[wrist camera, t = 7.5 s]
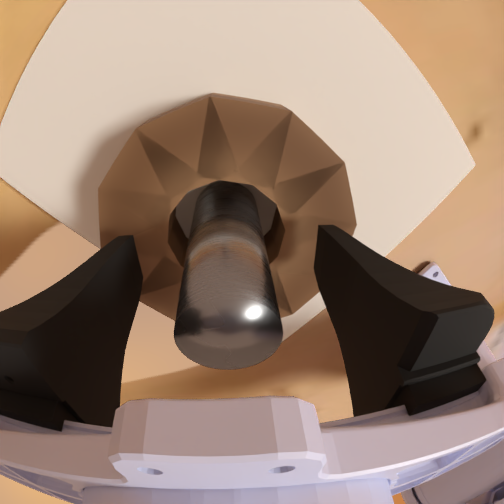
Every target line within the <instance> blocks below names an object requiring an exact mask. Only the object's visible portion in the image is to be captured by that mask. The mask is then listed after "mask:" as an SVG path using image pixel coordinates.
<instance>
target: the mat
mask: <svg viewBox="0 0 504 504" xmlns="http://www.w3.org/2000/svg"><path fill="white" fill-rule="evenodd" d="M211 93H219V94H226V95H232V96H238V97H244V98H250V99H255V100H261V101H266V102H271V103H276V104H281V105H283V106H284V107H286V108H288V109H289V110H291V111H293V113H294V114H295V115H297V116H298V117H299V118H300V119H301V120H302V121H303V122H304V123H305V124H306V125H307V126H308V127H309V128H310V129H312V130H313V131H314V132H315V133H316V134H317V135H318V136H319V137H320V138H321V139H322V140H323V141H324V142H325V143H326V144H327V145H328V146H329V147H330V148H331V149H332V150H333V151H334V152H335V153H336V154H337V155H338V156H339V157H340V158H341V159H342V160H343V161H344V162H345V165H346V170H347V175H348V179H349V184H350V189H351V195H352V200H353V205H354V211H355V216H356V222H357V226H356V228H355V231H354V234H353V236H352V237H354V238H355V239H357V240H358V241H360V242H361V243H363V244H364V245H366V246H367V247H369V248H370V249H372V250H374V251H375V252H377V253H378V254H380V255H382V256H383V257H385V256H386V255H387V254H388V253H389V252H390V251H392V250H393V249H394V248H395V247H396V246H397V245H398V244H399V243H400V242H401V241H402V240H403V239H404V238H405V237H406V236H407V235H409V234H410V233H411V232H412V231H413V230H414V229H415V228H416V227H417V226H418V225H419V224H420V223H421V222H422V221H423V220H424V219H425V218H426V217H427V216H428V215H429V214H430V213H431V212H432V211H433V210H434V209H435V208H436V207H437V206H438V205H439V204H440V203H441V202H442V201H443V200H444V199H445V198H446V197H447V196H448V195H449V193H450V192H451V191H452V190H453V189H454V188H455V187H456V186H457V185H458V184H459V183H460V182H461V181H462V180H463V178H464V177H465V176H466V175H467V174H468V173H469V172H470V171H471V170H472V169H473V167H474V166H475V165H476V164H475V162H474V160H473V158H472V156H471V154H470V152H469V150H468V148H467V146H466V144H465V142H464V141H463V139H462V137H461V135H460V133H459V131H458V130H457V128H456V126H455V124H454V123H453V121H452V119H451V118H450V116H449V114H448V113H447V111H446V109H445V108H444V106H443V105H442V103H441V101H440V100H439V98H438V97H437V95H436V94H435V92H434V91H433V89H432V88H431V86H430V85H429V83H428V82H427V81H426V79H425V78H424V76H423V75H422V74H421V72H420V71H419V69H418V68H417V67H416V65H415V64H414V63H413V61H412V60H411V59H410V58H409V56H408V55H407V54H406V52H405V51H404V50H403V49H402V47H401V46H400V45H399V44H398V43H397V41H396V40H395V39H394V38H393V37H392V35H391V34H390V33H389V32H388V31H387V30H386V29H385V27H384V26H383V25H382V24H381V23H380V22H379V21H378V20H377V19H376V18H375V17H374V15H373V14H372V13H371V12H370V11H369V10H368V9H367V8H366V7H365V6H364V5H363V4H362V3H361V2H360V1H359V0H67V1H66V3H65V4H64V6H63V7H62V8H61V10H60V11H59V13H58V14H57V16H56V17H55V19H54V20H53V22H52V23H51V25H50V26H49V28H48V30H47V31H46V33H45V34H44V36H43V38H42V39H41V41H40V43H39V44H38V46H37V48H36V50H35V51H34V53H33V55H32V57H31V59H30V61H29V62H28V64H27V66H26V68H25V70H24V72H23V74H22V76H21V78H20V80H19V82H18V84H17V87H16V89H15V91H14V93H13V95H12V98H11V100H10V102H9V105H8V107H7V110H6V112H5V115H4V117H3V120H2V122H1V125H0V177H1V178H2V179H3V180H5V181H6V182H7V183H8V184H10V185H11V186H12V187H14V188H15V189H16V190H17V191H19V192H20V193H21V194H23V195H24V196H25V197H27V198H28V199H29V200H31V201H32V202H33V203H35V204H36V205H38V206H39V207H40V208H42V209H43V210H44V211H46V212H47V213H49V214H50V215H51V216H53V217H54V218H56V219H57V220H59V221H60V222H61V223H63V224H64V225H66V226H67V227H69V228H70V229H72V230H73V231H74V232H76V233H77V234H79V235H80V236H82V237H83V238H85V239H86V240H88V241H89V242H91V243H92V244H94V245H95V246H97V247H98V248H100V249H101V245H100V231H99V209H98V188H99V186H100V184H101V183H102V181H103V179H104V177H105V176H106V174H107V172H108V171H109V169H110V167H111V166H112V164H113V163H114V161H115V159H116V158H117V156H118V155H119V153H120V151H121V150H122V148H123V147H124V145H125V144H126V142H127V141H128V139H129V138H130V136H131V135H132V133H133V132H134V130H135V129H136V128H137V127H139V126H140V125H142V124H143V123H145V122H146V121H148V120H149V119H151V118H154V117H156V116H158V115H160V114H162V113H165V112H167V111H169V110H171V109H174V108H176V107H178V106H181V105H183V104H186V103H188V102H190V101H193V100H195V99H198V98H201V97H203V96H206V95H208V94H211ZM220 181H223V180H218V181H215V182H212V183H209V184H207V185H204V186H201V187H199V188H196V189H194V190H191V191H188V192H187V193H186V195H185V196H184V197H183V199H182V200H181V201H180V202H179V204H178V205H177V206H176V218H177V220H178V222H179V224H180V226H181V228H182V230H183V232H184V234H185V236H186V237H187V238H188V239H189V235H190V230H191V224H192V219H193V214H194V209H195V204H196V201H197V198H198V196H199V195H200V193H201V192H202V191H203V190H204V189H205V188H206V187H208V186H209V185H211V184H213V183H216V182H220ZM239 184H241V185H243V186H244V187H246V188H247V189H248V190H249V191H250V192H251V193H252V195H253V196H254V198H255V201H256V204H257V209H258V213H259V218H260V223H261V227H262V232H263V236H264V235H265V234H266V233H267V232H268V231H269V230H270V229H271V226H272V222H273V218H274V214H275V210H276V203H274V202H273V201H272V200H271V199H269V198H268V197H267V196H266V195H264V194H263V193H262V192H261V191H259V190H258V189H257V188H256V187H254V186H253V185H249V184H243V183H239ZM325 308H326V306H325V304H324V301H323V299H322V296H321V294H320V292H319V293H318V294H317V295H315V296H314V297H313V298H312V299H311V300H309V301H308V302H307V303H306V304H305V305H303V306H302V307H301V308H300V309H299V310H297V311H296V312H295V313H294V314H293V315H289V316H286V317H283V318H281V322H282V327H283V339H282V342H283V341H284V340H285V339H287V338H288V337H289V336H291V335H292V334H293V333H294V332H296V331H297V330H298V329H300V328H301V327H302V326H303V325H305V324H306V323H307V322H308V321H310V320H311V319H312V318H314V317H315V316H316V315H317V314H318V313H320V312H321V311H322V310H323V309H325Z"/></svg>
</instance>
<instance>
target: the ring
mask: <svg viewBox="0 0 504 504" xmlns="http://www.w3.org/2000/svg"><path fill="white" fill-rule="evenodd" d="M218 180H223V181H230V182H236V183H243V184H249V185H253V186H254V187H256V188H257V189H258V190H259V191H261V192H262V193H263V194H264V195H266V196H267V197H268V198H269V199H271V200H272V201H273V202H274V203H276V210H275V214H274V218H273V222H272V226H271V229H270V230H269V231H268V232H267V233H266V234H265V235H264V241H265V246H266V250H267V255H268V260H269V264H270V269H271V274H272V279H273V283H274V288H275V293H276V298H277V302H278V307H279V312H280V317H281V318H283V317H286V316H289V315H293V314H294V313H295V312H296V311H297V310H299V309H300V308H301V307H302V306H303V305H305V304H306V303H307V302H308V301H309V300H311V299H312V298H313V297H314V296H315V295H317V294H318V293H319V292H320V291H319V288H318V284H317V281H316V277H315V272H314V260H315V251H316V242H317V233H318V225H335V226H337V227H339V228H340V229H342V230H343V231H345V232H346V233H348V234H349V235H351V236H353V234H354V231H355V228H356V226H357V222H356V216H355V211H354V205H353V200H352V195H351V189H350V184H349V179H348V175H347V170H346V165H345V162H344V161H343V160H342V159H341V158H340V157H339V156H338V155H337V154H336V153H335V152H334V151H333V150H332V149H331V148H330V147H329V146H328V145H327V144H326V143H325V142H324V141H323V140H322V139H321V138H320V137H319V136H318V135H317V134H316V133H315V132H314V131H313V130H312V129H310V128H309V127H308V126H307V125H306V124H305V123H304V122H303V121H302V120H301V119H300V118H299V117H298V116H297V115H295V114H294V113H293V111H291V110H289V109H288V108H286V107H284V106H283V105H281V104H276V103H271V102H266V101H261V100H255V99H250V98H244V97H238V96H232V95H226V94H219V93H211V94H208V95H206V96H203V97H201V98H198V99H195V100H193V101H190V102H188V103H186V104H183V105H181V106H178V107H176V108H174V109H171V110H169V111H167V112H165V113H162V114H160V115H158V116H156V117H154V118H151V119H149V120H148V121H146V122H145V123H143V124H142V125H140V126H139V127H137V128H136V129H135V130H134V132H133V133H132V135H131V136H130V138H129V139H128V141H127V142H126V144H125V145H124V147H123V148H122V150H121V151H120V153H119V155H118V156H117V158H116V159H115V161H114V163H113V164H112V166H111V167H110V169H109V171H108V172H107V174H106V176H105V177H104V179H103V181H102V183H101V184H100V186H99V188H98V209H99V231H100V245H101V249H102V248H103V247H104V246H105V245H107V244H108V243H109V242H111V241H112V240H113V239H115V238H116V237H118V236H124V235H133V237H134V241H135V245H136V250H137V254H138V258H139V262H140V266H141V270H142V274H143V283H142V290H141V295H140V300H139V301H140V302H142V303H144V304H146V305H147V306H149V307H151V308H153V309H155V310H156V311H158V312H160V313H162V314H163V315H165V316H167V317H169V318H171V319H173V320H174V321H175V320H176V313H177V306H178V300H179V293H180V287H181V281H182V275H183V269H184V263H185V257H186V251H187V246H188V240H189V239H188V238H187V237H186V236H185V234H184V232H183V230H182V228H181V226H180V224H179V222H178V220H177V218H176V206H177V205H178V204H179V202H180V201H181V200H182V199H183V197H184V196H185V195H186V193H187V192H188V191H191V190H194V189H196V188H199V187H201V186H204V185H207V184H209V183H212V182H215V181H218Z"/></svg>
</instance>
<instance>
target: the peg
mask: <svg viewBox="0 0 504 504" xmlns="http://www.w3.org/2000/svg"><path fill="white" fill-rule="evenodd" d="M174 339H175V342H176V345H177V347H178V348H179V350H180V351H181V352H182V353H183V354H184V355H185V356H186V357H187V358H189V359H190V360H192V361H194V362H196V363H198V364H200V365H203V366H206V367H210V368H215V369H227V370H229V369H241V368H246V367H249V366H253V365H255V364H258V363H260V362H262V361H264V360H265V359H267V358H269V357H270V356H271V355H272V354H273V353H274V352H275V351H276V350H277V349H278V347H279V346H280V344H281V342H282V339H283V327H282V322H281V317H280V312H279V307H278V302H277V298H276V293H275V288H274V283H273V279H272V274H271V269H270V264H269V260H268V255H267V250H266V246H265V241H264V236H263V232H262V227H261V223H260V218H259V213H258V209H257V204H256V201H255V198H254V196H253V195H252V193H251V192H250V191H249V190H248V189H247V188H246V187H244V186H243V185H241V184H239V183H236V182H230V181H220V182H216V183H213V184H211V185H209V186H208V187H206V188H205V189H204V190H203V191H202V192H201V193H200V195H199V196H198V198H197V201H196V204H195V209H194V214H193V219H192V224H191V230H190V235H189V240H188V246H187V251H186V257H185V263H184V269H183V275H182V281H181V287H180V293H179V300H178V306H177V313H176V320H175V328H174Z"/></svg>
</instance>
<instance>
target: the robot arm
mask: <svg viewBox="0 0 504 504" xmlns="http://www.w3.org/2000/svg"><path fill="white" fill-rule="evenodd" d="M314 272H315V277H316V281H317V284H318V288H319V291H320V294H321V296H322V299H323V301H324V304H325V306H326V308H327V311H328V313H329V316H330V318H331V321H332V323H333V326H334V328H335V331H336V334H337V337H338V340H339V343H340V347H341V351H342V355H343V359H344V364H345V368H346V373H347V378H348V383H349V388H350V394H351V400H352V407H353V414H354V417H352V418H347V419H341V420H336V421H330V422H325V423H319V421H318V417H317V413H316V409H315V406H314V405H313V404H311V403H309V402H306V401H304V400H301V399H299V398H296V397H294V396H260V397H246V398H226V399H152V398H151V399H141V400H131V401H128V402H126V403H125V404H123V405H122V406H120V391H121V379H122V369H123V362H124V354H125V349H126V344H127V341H128V337H129V333H130V330H131V326H132V323H133V320H134V317H135V313H136V310H137V307H138V303H139V300H140V295H141V290H142V283H143V274H142V270H141V266H140V262H139V258H138V254H137V250H136V245H135V241H134V237H133V235H124V236H118V237H116V238H115V239H113V240H112V241H111V242H109V243H108V244H107V245H105V246H104V247H103V248H102V249H100V250H99V251H98V252H97V253H95V254H94V255H93V256H92V257H91V258H89V259H88V260H87V261H86V262H84V263H83V264H82V265H80V266H79V267H78V268H76V269H75V270H74V271H73V272H71V273H70V274H69V275H67V276H66V277H64V278H63V279H61V280H60V281H58V282H57V283H55V284H54V285H52V286H51V287H49V288H48V289H46V290H44V291H42V292H40V293H39V294H37V295H35V296H33V297H32V298H30V299H28V300H26V301H24V302H22V303H20V304H18V305H15V306H13V307H11V308H9V309H6V310H4V311H1V312H0V474H1V475H3V476H5V477H7V478H9V479H12V480H14V481H16V482H18V483H21V484H23V485H25V486H28V487H30V488H32V489H35V490H37V491H40V492H42V493H45V494H47V495H50V496H53V497H56V498H59V499H61V500H64V501H67V502H71V503H74V504H394V502H393V498H392V495H395V494H397V493H400V492H401V495H402V497H403V499H404V501H405V503H406V504H504V358H502V359H500V360H498V361H497V360H496V359H495V357H494V355H493V354H492V352H491V351H490V349H489V348H488V346H487V344H486V343H485V341H484V339H485V337H486V335H487V334H488V332H489V330H490V328H491V326H492V324H493V320H494V309H493V308H492V306H491V305H490V304H489V302H488V301H487V300H486V299H485V297H484V296H483V295H482V294H481V293H479V292H474V291H470V290H465V289H461V288H457V287H453V286H451V285H450V283H449V282H448V280H447V278H446V277H445V276H444V274H443V273H442V271H441V270H440V268H439V267H438V265H437V264H436V263H435V262H432V263H430V264H428V265H427V266H426V267H425V268H424V269H423V270H422V271H421V272H420V273H418V274H417V273H414V272H412V271H410V270H408V269H406V268H404V267H402V266H400V265H398V264H396V263H394V262H392V261H390V260H389V259H387V258H385V257H383V256H382V255H380V254H378V253H377V252H375V251H374V250H372V249H370V248H369V247H367V246H366V245H364V244H363V243H361V242H360V241H358V240H357V239H355V238H354V237H352V236H351V235H349V234H348V233H346V232H345V231H343V230H342V229H340V228H339V227H337V226H335V225H318V233H317V242H316V251H315V260H314Z"/></svg>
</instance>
